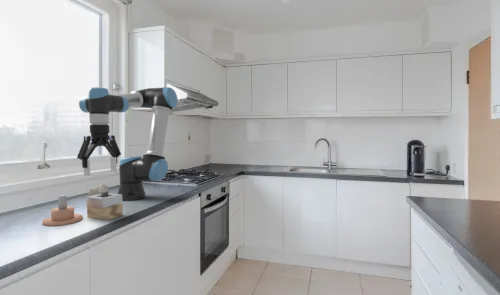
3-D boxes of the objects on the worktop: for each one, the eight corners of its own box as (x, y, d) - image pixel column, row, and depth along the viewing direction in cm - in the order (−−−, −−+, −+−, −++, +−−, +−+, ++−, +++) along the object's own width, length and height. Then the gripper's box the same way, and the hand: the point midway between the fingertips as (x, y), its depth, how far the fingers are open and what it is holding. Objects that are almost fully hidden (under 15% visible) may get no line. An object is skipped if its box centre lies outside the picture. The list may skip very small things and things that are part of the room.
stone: (91, 211, 138) (90, 186, 138) (86, 209, 141) (85, 185, 141) (112, 206, 146) (112, 183, 146) (107, 205, 149) (107, 182, 149)
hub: (68, 214, 132) (67, 191, 131) (90, 218, 126) (89, 193, 126) (34, 223, 119) (33, 197, 118) (57, 227, 113) (56, 200, 113)
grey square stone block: (106, 201, 136) (106, 192, 136) (122, 203, 132) (122, 194, 132) (86, 206, 127) (86, 196, 126) (103, 208, 123) (103, 198, 123)
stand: (103, 212, 136) (102, 189, 135) (122, 215, 131) (122, 191, 130) (87, 216, 128) (86, 192, 128) (107, 220, 123) (106, 195, 123)
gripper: (116, 125, 140) (117, 169, 141) (65, 123, 117) (67, 177, 118) (128, 124, 137) (129, 170, 138) (79, 123, 114) (81, 178, 115)
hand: (101, 173), depth 128 cm, fingers open, 13 cm apart
